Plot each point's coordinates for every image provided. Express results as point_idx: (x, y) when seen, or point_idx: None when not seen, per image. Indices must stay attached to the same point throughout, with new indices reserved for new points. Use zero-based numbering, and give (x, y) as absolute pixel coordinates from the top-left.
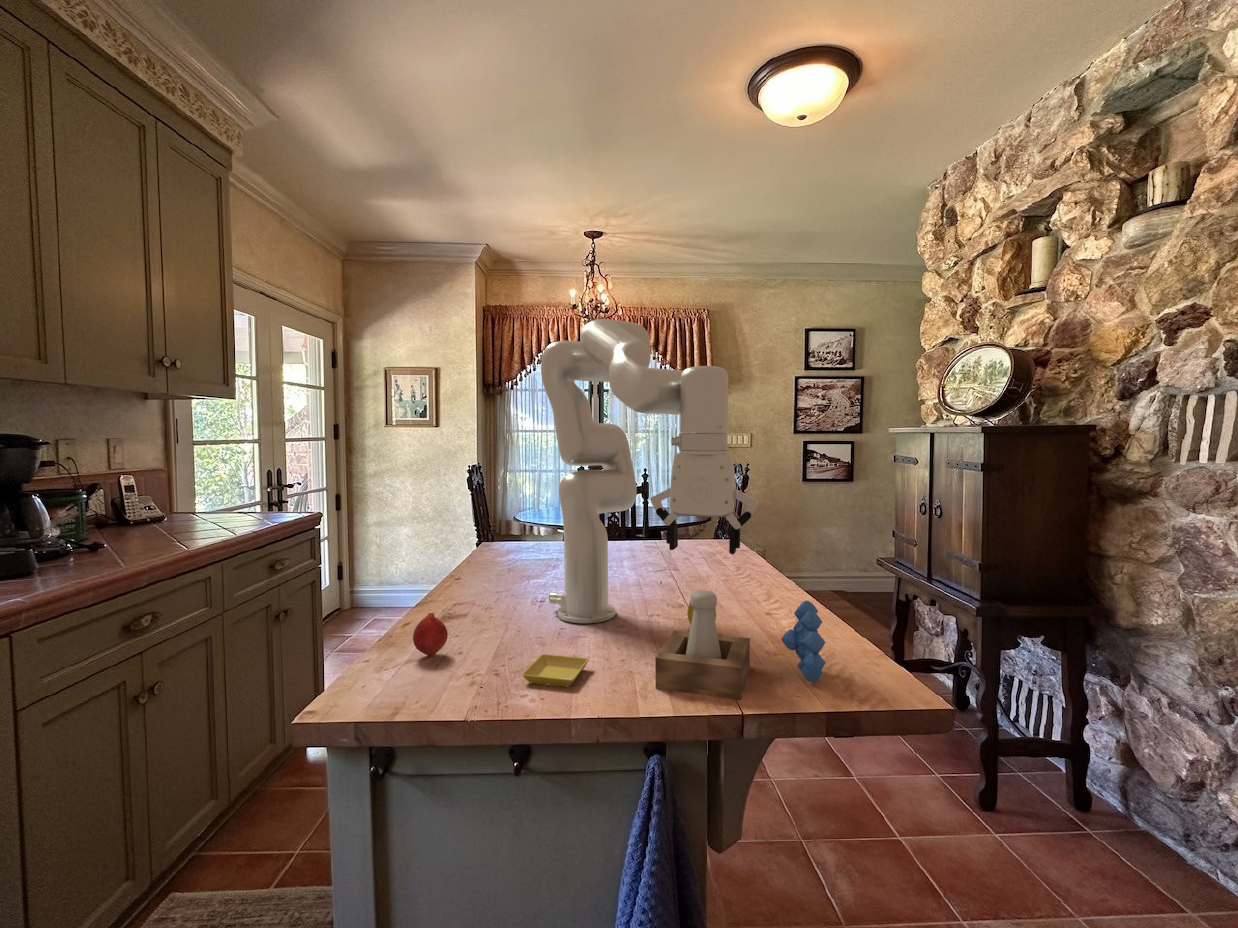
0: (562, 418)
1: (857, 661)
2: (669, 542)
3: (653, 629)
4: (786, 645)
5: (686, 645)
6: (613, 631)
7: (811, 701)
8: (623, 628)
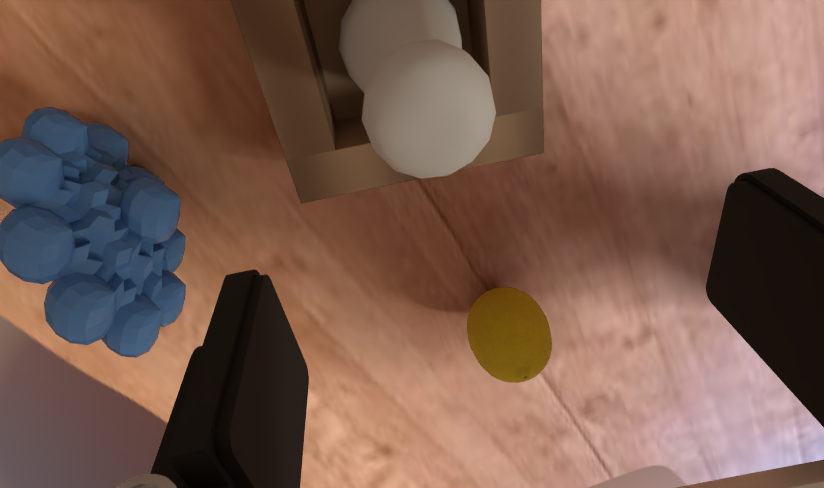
0: None
1: None
2: (815, 193)
3: (620, 262)
4: (161, 183)
5: None
6: None
7: (47, 16)
8: (701, 233)
